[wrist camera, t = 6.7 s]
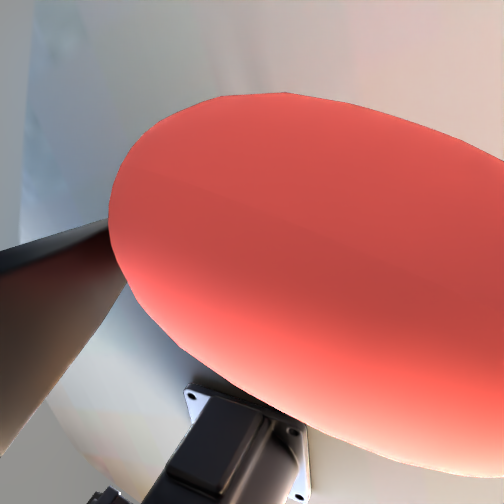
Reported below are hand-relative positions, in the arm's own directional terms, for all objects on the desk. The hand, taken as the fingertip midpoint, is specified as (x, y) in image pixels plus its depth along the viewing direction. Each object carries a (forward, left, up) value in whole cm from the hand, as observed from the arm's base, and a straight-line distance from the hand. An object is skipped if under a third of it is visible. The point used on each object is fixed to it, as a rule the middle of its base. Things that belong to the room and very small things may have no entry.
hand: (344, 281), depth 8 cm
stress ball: (0, 0, -3) cm, 3 cm away
